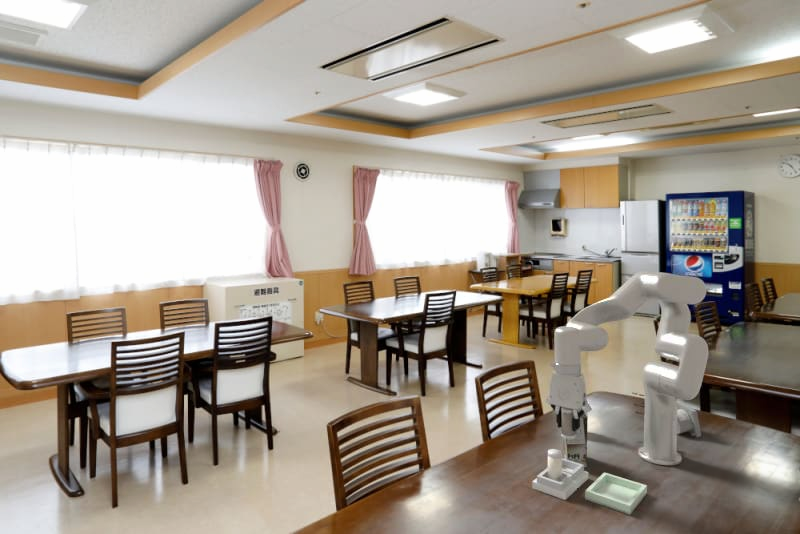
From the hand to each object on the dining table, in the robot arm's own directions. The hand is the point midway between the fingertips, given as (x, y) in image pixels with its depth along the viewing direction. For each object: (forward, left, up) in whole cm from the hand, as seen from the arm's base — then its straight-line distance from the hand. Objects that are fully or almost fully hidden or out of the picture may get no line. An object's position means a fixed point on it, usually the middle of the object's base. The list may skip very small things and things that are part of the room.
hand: (568, 427), depth 153 cm
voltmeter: (-62, +11, -16) cm, 65 cm away
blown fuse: (0, 0, -3) cm, 3 cm away
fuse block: (+4, 0, -16) cm, 16 cm away
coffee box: (-13, -3, -16) cm, 21 cm away
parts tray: (+1, +15, -16) cm, 22 cm away
